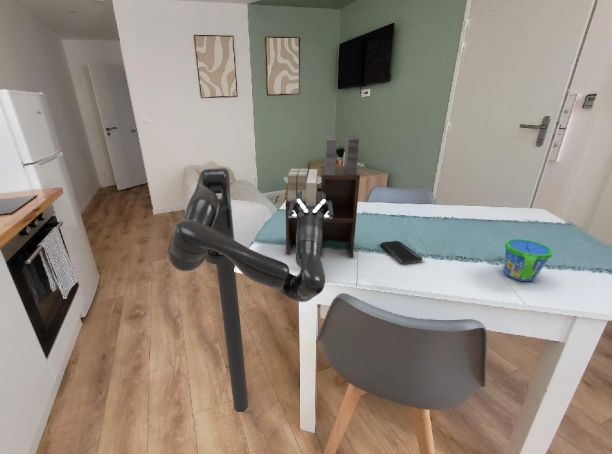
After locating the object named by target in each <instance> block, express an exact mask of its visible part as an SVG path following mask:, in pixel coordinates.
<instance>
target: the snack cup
mask: <svg viewBox="0 0 612 454" xmlns="http://www.w3.org/2000/svg"><path fill="white" fill-rule="evenodd" d="M504 248H505V253H504V262H503V272H504V274H505V276H507V277H510V278H512V279H513V280H517V281H518V282H533V281H535V280H536V278H537V277H538V276H539V274H540V273H541V271H542V269H543V268H544V266H545V265H546V263H547V261H548V260H549V259H551V258H552V257H553V253H554V251H553V249H552V248H551V247H549V246H548V245H545V244H544V243H541V242H537V241H534V240H531V239H524V238H523V239H522V238H512V239H508V240H506V242H505V243H504Z"/></svg>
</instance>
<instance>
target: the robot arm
mask: <svg viewBox="0 0 612 454" xmlns="http://www.w3.org/2000/svg"><path fill="white" fill-rule="evenodd" d="M230 178H231V177H230V172H229V170H228V169H227V168H226V167H216V168H214V167H213V168H205V169H203V170H201V172H199V175H198V179H197V183H196V186H195V189H194V191H193V194H192V196H191V197H190V199H189V201H188V203H187V204H186V205H187V206H186V209H185V212H184V215H183V219H182V220H180V221H179V222H177V223H176V224H175V227H174V228H173V232H172V235H171V238H170V240H169V244H168V247H167V258H168V260H169V262H170V264H171V265H172V266H173V267H174V268H175V269H177V270H178V271H182V272H191V271H194V270H196V269H198V268H199V267H201V265H202V264H203V263H204V262H205V260H206V259H205V257H206V255H207V253H208V254H209V255H212V254H214V255H215V256H219V255H220V256H223V255H225V256H226V257H227V258H229V259H230V260H231V261H232V262H233V263H234V264H235V267H236V268H237V269H238V270H239V271H240V272H241V273H242V274H243V275H244V276H245V277H246V278H247V279H249V280H251V281H253V282H254V283H257V284H261V285H263V286H266V287H269V288H272V289H275V290H276V291H278V292H279V293H280V294H282V295H284V297H287V298H288V299H290V300H293V301H295V302H298V303H306V302H309V301H311V300H312V299H313V298H315V297H316V296H318V295H319V294H321V293H322V292H323V290H324V288H325V285H326V275H325V271H324V270H325V269H324V266H323V263H322V260H321V259H322V256H321V245H322V246H323V241H322V236H323V234H322V228H323V220H324V219H329V220H333V208H332V202H331V201H326V193H324V191H321V190H320V192H321V202H320V203H319V204H318V205H317V206H311V207H310V206H306V207H305V205H304V204H303V203H302V191H300V193H298V194H297V200H296V201H294V200H292V201H291V203H290V207H289V211H288V218H289V219H292V218H297V220H298V223H297V232H296V240H295V244H296V245H295V256H294V257H295V258H294V259H295V263H296V266H297V267H299V268H300V271H299V273H297V274H296V275H295V274H292V273H291V272H290V267H289V266H288V264H287V263H285V262H283V261H280V260H278V259H276V258H272V257H270V256H268V255H265V254H262V253H260V252H257V251H255V250H253V249H252V248H251V249H250V248H249V247H247V246H246V245H243V244H242V243H240V242H238V241H236V239H235V230H234V221H233V220H234V219H233V209H232V208H233V207H232V200H231V181H230ZM217 194H218V195H219V194H220V196H219V197H218V195H217ZM295 206H297V207H298V208H299V210H300V211H299V212H298V213H297V214H295V211H294V209H295ZM325 207H327V208H328V211H327V212H326V214H325V215H324V214H323V213H322V211H323V209H324V208H325ZM209 251H210V252H211V253H212V254H211V253H210V252H209Z"/></svg>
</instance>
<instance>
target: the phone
mask: <svg viewBox="0 0 612 454" xmlns="http://www.w3.org/2000/svg"><path fill="white" fill-rule="evenodd" d="M380 247H381V248H382V249H384V250H385V251H386V253H387V254H388V255H390V256H392V258H394V259H395V260H396V261H397V262H398V263H400V264H401V265H409V264H410V265H411V264H417V263H418V264H419V263H423V257H422V256H421V255H419V254H418V253H416V252H415V251H414V250H412V249H411V248H410V247H408V246H407V245H406V244H404V243H403V242H401V241H399V240H393V241H392V240H391V241H383V242H381V243H380Z"/></svg>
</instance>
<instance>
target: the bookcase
mask: <svg viewBox="0 0 612 454" xmlns="http://www.w3.org/2000/svg"><path fill="white" fill-rule="evenodd" d="M337 141H338V140H337V137H336V135H326V136H325V162H324V163H325V164H324V166H321V176H320V177H321V180H320V191H318V190H317V199H316V206H317V205H318V204H319V203H320V202H321V191H324V193H326V201H331V202H332V208H333V220H329V219H324V220H323V228H322V234H323V236H322V242H337V243H338V242H340V243H347V248H348V253H349V254H348V255H349V258H350V259H353V258H354V251H355V250H354V249H355V238H356V237H355V236H356V227H357V226H356V224H357V212H358V204H359V203H358V202H359V191H360V179H361V174H360V172H359V171H358V169H357V168H358V157H359V156H358V155H359V143H360V139H359V138H358V137H357V136H356V135H355V134H354V135H352V134H351V135H346V136H345V144H344V145H345V146H344V163H343V166H336V162H337V159H336V157H337ZM308 173H309V168H291V169H290V170H289V172H288V174H287V197H286V200H285V253H286V254H285V255H290V252H291V249H292V248H291V247H292V243H293V241H296V232H297V223H298V220H297V218H292V219H289V218H288V211H289V207H290V203H291V201H292V200H294V201H296V200H297V194H298V193H300V191H302V203H303V204H304V205H305V207H306V182H307V178H308ZM294 211H295V214H297V213H298V212H299V211H300V210H299V208H298V207H297V206H295V209H294ZM327 211H328V208H327V207H325V208H324V209H323V211H322V213H323V214H324V215H325V214H326V212H327ZM321 257H323V244H322V245H321Z"/></svg>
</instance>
